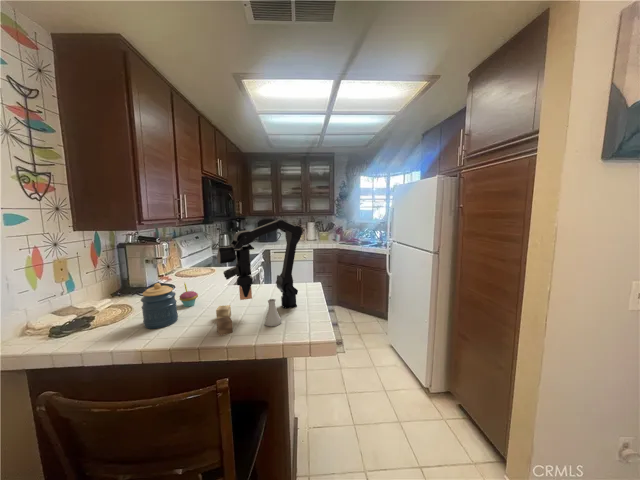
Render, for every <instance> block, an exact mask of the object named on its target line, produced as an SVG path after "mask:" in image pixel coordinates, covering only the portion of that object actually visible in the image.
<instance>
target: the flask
mask: <svg viewBox="0 0 640 480" xmlns="http://www.w3.org/2000/svg"><path fill="white" fill-rule="evenodd" d="M267 303H268V309H267V314H266V317H265V320H264V326H266V327H277V326H279V325H280V324H282V318H281V317H280V315H279V312H278V309H277V306H276V299H275V298H269V299H268V300H267Z"/></svg>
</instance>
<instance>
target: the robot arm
mask: <svg viewBox="0 0 640 480" xmlns="http://www.w3.org/2000/svg"><path fill="white" fill-rule="evenodd" d="M277 230H280V231H281V232H283V233H285V235H284V237H285V241H286V246H285V253H284V258H283V265H282V270H281V273H280V274H277V275H276V281H275V284H276V288H277V289H278V290H279V291H280V293H281V297H280V302H281V303H280V304H281V306H282V309H291V308H297V307H298V305H297V295H298V293H299V292H298V291H299V290H298V289H297V288H296V287H295V286H294V279H293V268H294V263H295V262H294V261H295V255H296V251H297V250H296V249H297V245H298V243H299V241H300V240H301V238H302V235H303V229H302V228H301V226H299V225H293V224H291V223H288V222H287V221H284V220H283V219H275V220H273V221H271V222H268V223H266V224H264V225H261V226H258V227H254V228H252V229H246V230H239V231H237V232H234V235H233V240H232V241H231V242H230V244H229V245H228V246H224V247H223V246H219V247H217V253H216V259H217V263H218V264H219V265H220V264H221V265H222V264H229V263H234V261H236V264H235V265H234V266H233V267H230V268H228V269H226V270H223V276H224V278H225V280H230V279H231V278H233V277H235V276H236V277H237V278H236V285H237V286H241V287H242V290H243V293H244V297H247V296H248V293H249V290H250V288H251V289H252V285H253V284H254V280H253V279H254V278H253V276H252V269H251V267H252V265H251V253H250V251H251V250H255V247H254V246H252V244H251V243H253V242H254V241H255V240H256V239H258V238H260V237H262V236H265V235H267V234H269V233H272V232H274V231H277Z"/></svg>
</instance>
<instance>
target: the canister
mask: <svg viewBox="0 0 640 480" xmlns="http://www.w3.org/2000/svg"><path fill="white" fill-rule="evenodd" d="M173 290H174V288H173V287H170V286H169V285H161V283H160V282H157V283H154V284H153V286H151V287H149V288H147V289H145V291H143V292H142V297H141V299H140V302H142V303H141V304H142V305H141V311H142V319H143V320H142V321H143V326H144V328H146V329H150V330H151V329H152V330H154V329H160V328H166V327H169V326H170V325H173V324H175V323H176V322H177V321H178V319H179V313H178V309H177V308H178V305H177V299H176V298H175V296H176V295H177V293H176V292H175V291H173Z"/></svg>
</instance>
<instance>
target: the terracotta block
mask: <svg viewBox="0 0 640 480" xmlns="http://www.w3.org/2000/svg"><path fill="white" fill-rule="evenodd" d="M238 287H239V290H238V291H239V300H240V301H242V300H243V301H244V300H251V299H253V295H252V294H253V292H252V287H251V288H250V290H249V293H248V296H247V297H244V293H243V290H242V287H241V286H240V285H238Z"/></svg>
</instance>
